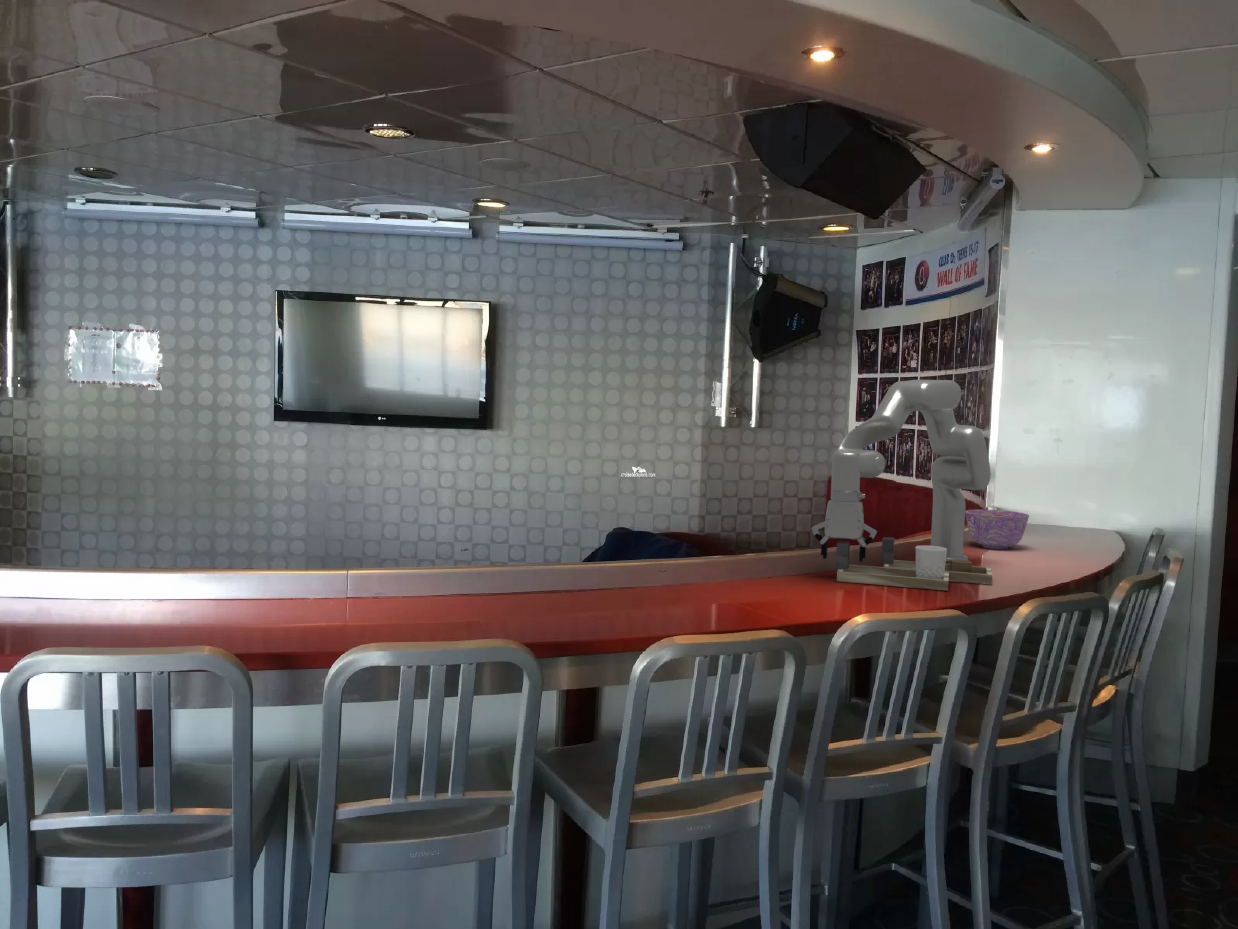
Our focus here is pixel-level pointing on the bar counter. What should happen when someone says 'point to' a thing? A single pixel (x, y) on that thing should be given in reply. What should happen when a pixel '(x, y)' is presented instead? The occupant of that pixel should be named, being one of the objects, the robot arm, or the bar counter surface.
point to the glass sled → (882, 573)
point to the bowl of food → (996, 527)
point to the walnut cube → (960, 566)
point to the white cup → (930, 562)
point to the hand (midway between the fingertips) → (842, 559)
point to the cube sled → (975, 577)
